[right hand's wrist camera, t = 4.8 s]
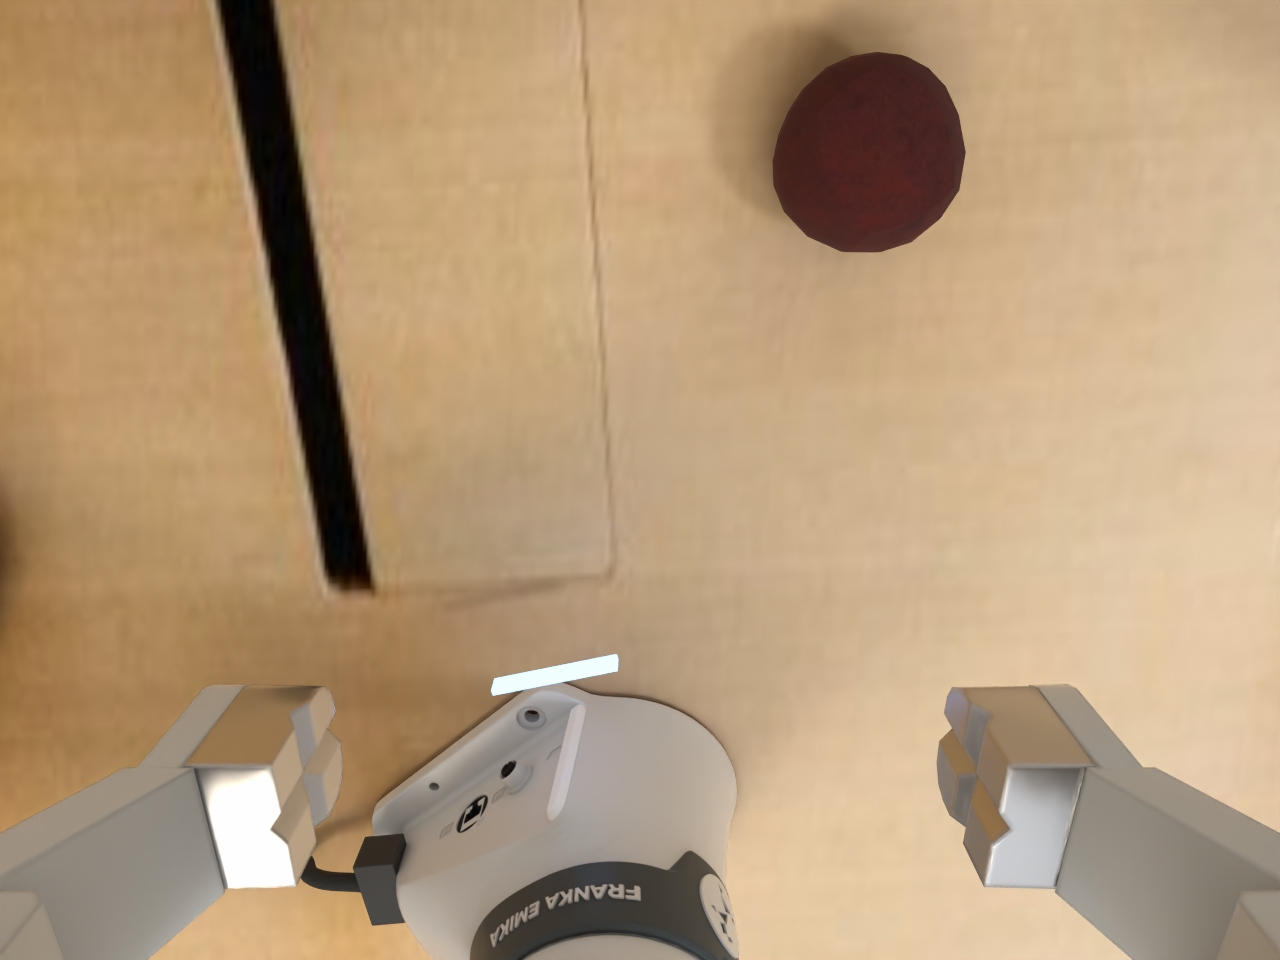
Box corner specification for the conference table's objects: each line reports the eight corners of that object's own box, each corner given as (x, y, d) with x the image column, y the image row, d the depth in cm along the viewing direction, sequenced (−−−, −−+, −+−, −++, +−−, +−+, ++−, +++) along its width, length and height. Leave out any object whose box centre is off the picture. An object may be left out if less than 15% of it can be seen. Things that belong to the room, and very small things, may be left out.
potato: (883, 28, 34) (941, -4, 28) (955, 193, 37) (1024, 201, 30) (731, 126, 36) (752, 118, 29) (810, 279, 38) (846, 304, 32)
